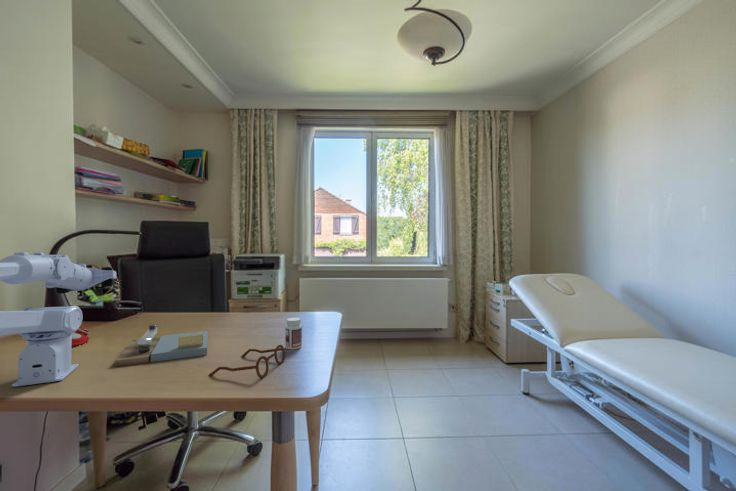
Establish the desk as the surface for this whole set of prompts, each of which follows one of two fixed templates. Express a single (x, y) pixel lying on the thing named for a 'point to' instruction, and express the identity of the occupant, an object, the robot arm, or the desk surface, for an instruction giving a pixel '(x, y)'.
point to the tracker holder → (80, 337)
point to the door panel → (170, 350)
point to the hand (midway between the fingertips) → (97, 284)
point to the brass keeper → (190, 341)
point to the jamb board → (136, 354)
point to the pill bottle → (293, 334)
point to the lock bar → (147, 337)
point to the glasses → (257, 361)
